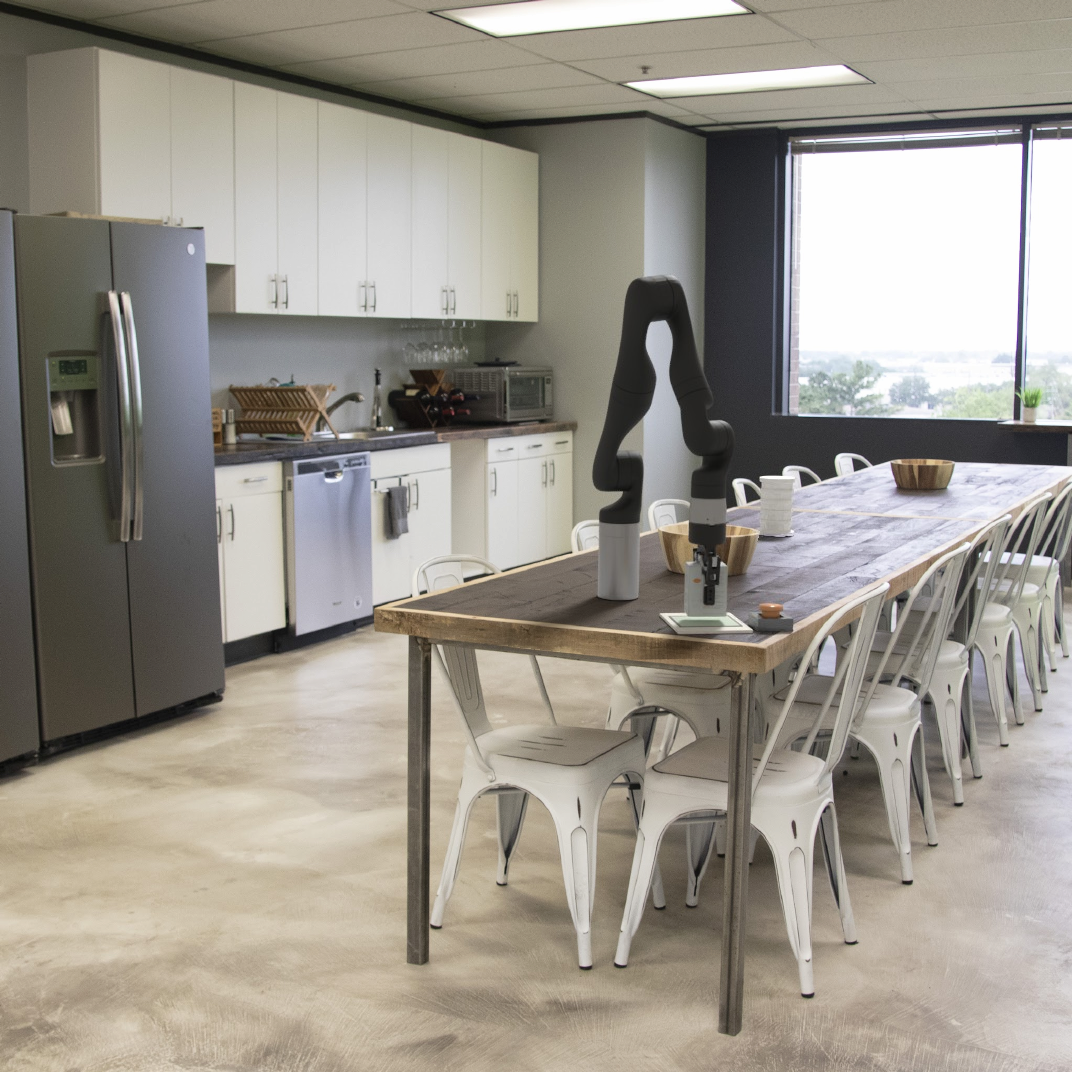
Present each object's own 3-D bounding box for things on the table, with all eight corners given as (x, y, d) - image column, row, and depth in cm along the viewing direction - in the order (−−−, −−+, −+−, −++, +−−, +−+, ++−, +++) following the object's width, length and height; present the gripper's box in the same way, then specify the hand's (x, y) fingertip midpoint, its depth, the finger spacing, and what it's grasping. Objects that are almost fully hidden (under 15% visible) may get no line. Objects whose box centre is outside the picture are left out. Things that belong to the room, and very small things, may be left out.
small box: (721, 611, 262) (723, 561, 261) (726, 617, 257) (728, 565, 255) (683, 611, 262) (684, 561, 260) (687, 617, 256) (688, 565, 255)
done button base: (748, 624, 260) (748, 612, 260) (782, 623, 261) (782, 611, 260) (757, 631, 253) (758, 619, 253) (793, 631, 254) (793, 618, 253)
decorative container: (772, 531, 405) (774, 475, 403) (802, 535, 397) (804, 477, 394) (748, 534, 398) (750, 477, 396) (778, 538, 389) (780, 479, 387)
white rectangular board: (659, 616, 267) (659, 612, 267) (729, 615, 269) (729, 611, 269) (678, 634, 250) (678, 630, 250) (752, 633, 251) (753, 629, 251)
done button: (755, 618, 259) (756, 603, 258) (778, 617, 259) (779, 603, 259) (762, 622, 254) (762, 608, 254) (785, 622, 255) (786, 607, 254)
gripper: (681, 515, 263) (679, 595, 266) (697, 524, 249) (695, 609, 251) (716, 515, 264) (714, 595, 266) (735, 524, 250) (732, 608, 252)
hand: (705, 601), depth 259 cm, fingers closed on small box, 5 cm apart
